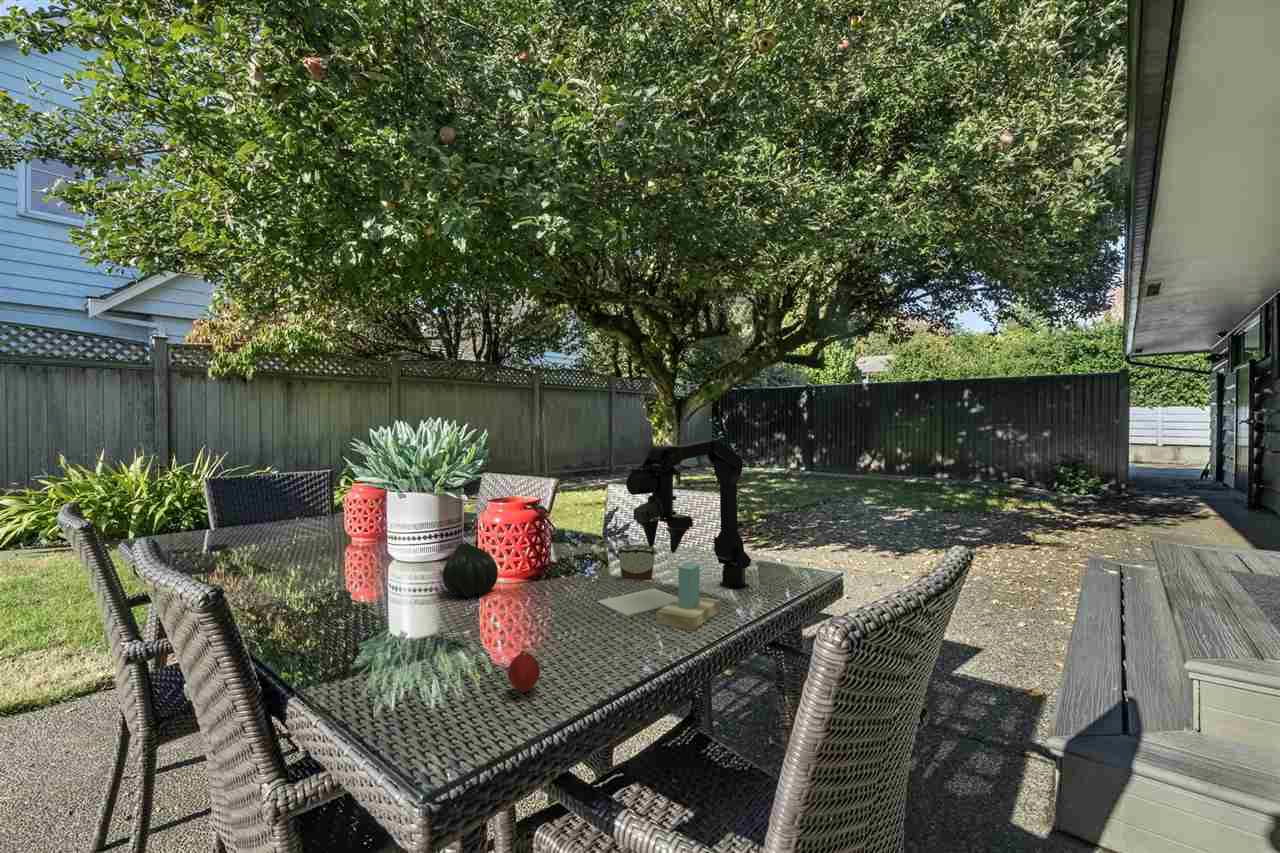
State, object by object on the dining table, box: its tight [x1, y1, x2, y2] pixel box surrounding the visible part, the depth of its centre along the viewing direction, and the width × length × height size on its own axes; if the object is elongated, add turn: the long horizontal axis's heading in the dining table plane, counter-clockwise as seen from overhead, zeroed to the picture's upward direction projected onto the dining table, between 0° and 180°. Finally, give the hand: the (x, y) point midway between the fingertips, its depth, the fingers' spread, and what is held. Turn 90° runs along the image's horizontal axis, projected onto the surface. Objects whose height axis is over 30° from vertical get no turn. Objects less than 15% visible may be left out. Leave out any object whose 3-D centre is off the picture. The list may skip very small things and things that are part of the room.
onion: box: [507, 649, 541, 693], centre depth 113 cm, size 6×6×8 cm
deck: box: [656, 596, 720, 632], centre depth 154 cm, size 16×10×3 cm, turn 151°
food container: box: [616, 544, 657, 581], centre depth 190 cm, size 12×6×10 cm, turn 84°
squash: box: [442, 542, 499, 598], centre depth 174 cm, size 14×15×15 cm
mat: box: [596, 588, 679, 617], centre depth 166 cm, size 20×14×1 cm
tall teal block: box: [678, 563, 701, 609], centre depth 154 cm, size 5×4×10 cm
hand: (661, 549), depth 165 cm, fingers open, 9 cm apart
